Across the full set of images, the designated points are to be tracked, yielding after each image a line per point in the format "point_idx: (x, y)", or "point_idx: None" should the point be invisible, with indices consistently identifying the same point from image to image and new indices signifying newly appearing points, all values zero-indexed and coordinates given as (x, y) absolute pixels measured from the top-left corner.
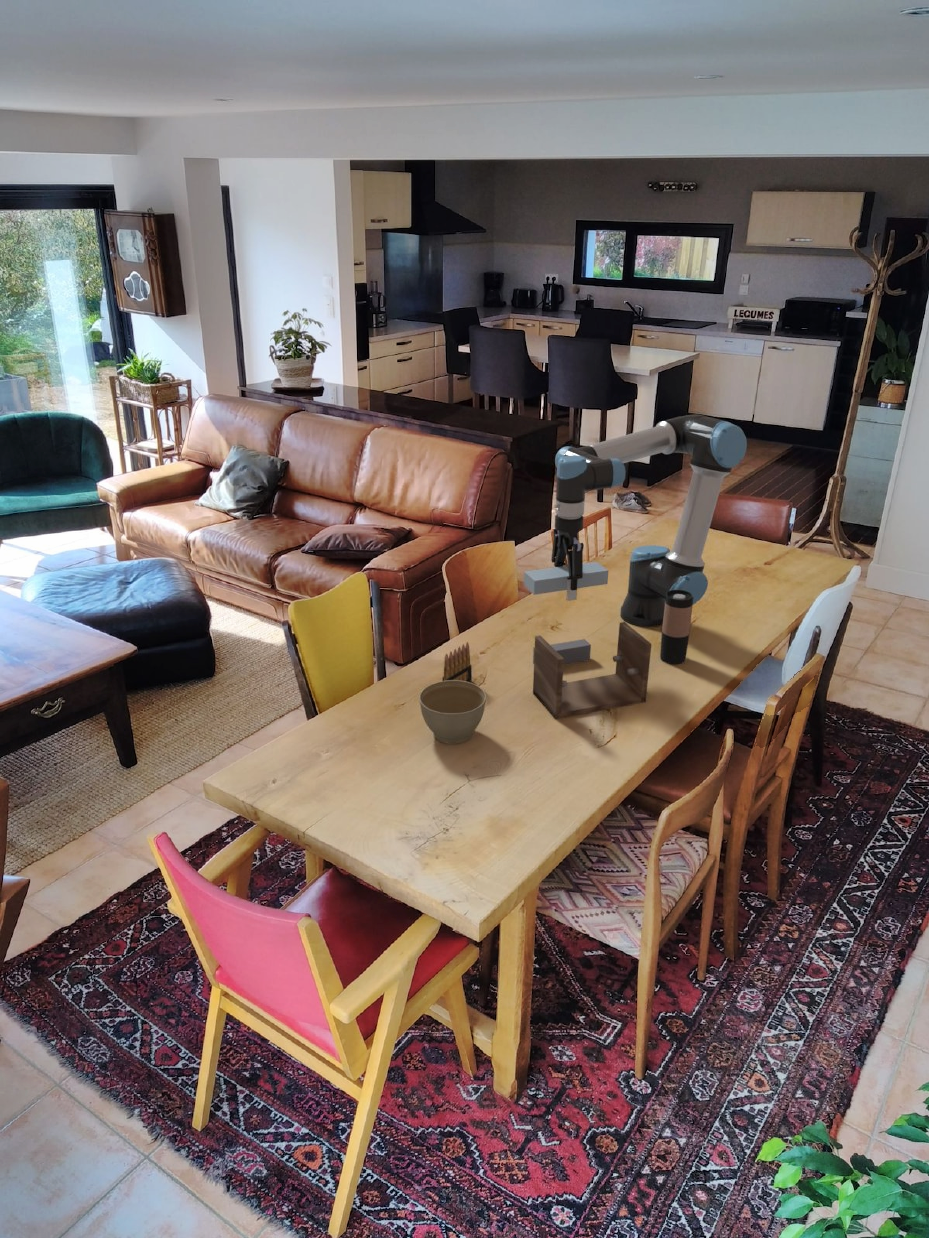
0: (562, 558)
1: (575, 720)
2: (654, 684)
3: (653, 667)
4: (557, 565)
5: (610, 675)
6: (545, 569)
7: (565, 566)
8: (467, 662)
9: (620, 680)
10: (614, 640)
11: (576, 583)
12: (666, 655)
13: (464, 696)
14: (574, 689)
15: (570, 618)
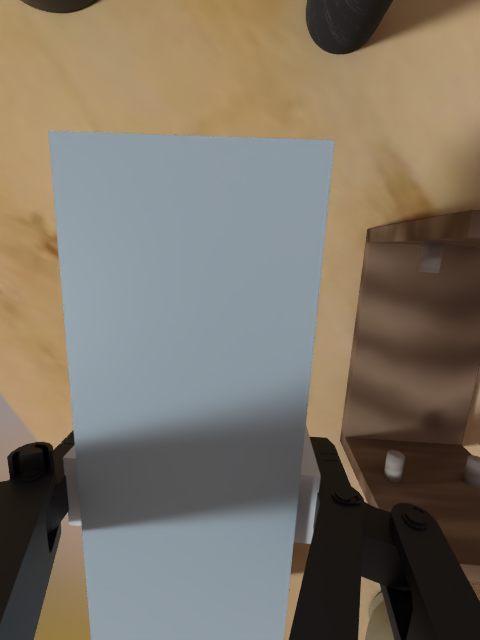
0: (32, 574)
1: (477, 416)
2: (439, 161)
3: (360, 106)
4: (57, 525)
5: (372, 259)
6: (104, 621)
7: (87, 472)
8: None
9: (406, 249)
10: (175, 123)
11: (344, 477)
12: (362, 36)
13: (389, 637)
14: (389, 373)
15: (10, 173)
